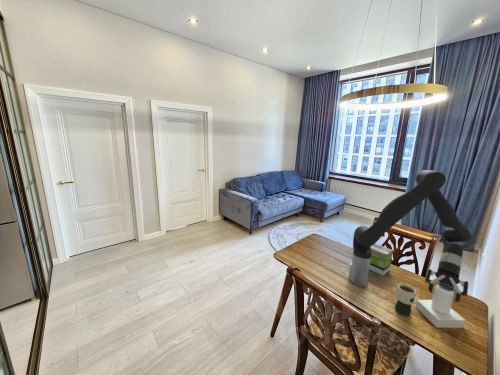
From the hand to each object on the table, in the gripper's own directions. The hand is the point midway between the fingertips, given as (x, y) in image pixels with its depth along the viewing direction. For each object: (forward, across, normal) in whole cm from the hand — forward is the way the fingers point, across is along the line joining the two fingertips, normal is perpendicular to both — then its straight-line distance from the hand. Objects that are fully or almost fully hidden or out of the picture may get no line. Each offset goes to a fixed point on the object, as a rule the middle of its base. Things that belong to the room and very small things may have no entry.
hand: (442, 297), depth 96 cm
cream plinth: (+7, 0, +9) cm, 11 cm away
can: (+4, 0, +6) cm, 8 cm away
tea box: (-8, -33, +25) cm, 42 cm away
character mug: (+13, -12, +3) cm, 18 cm away
